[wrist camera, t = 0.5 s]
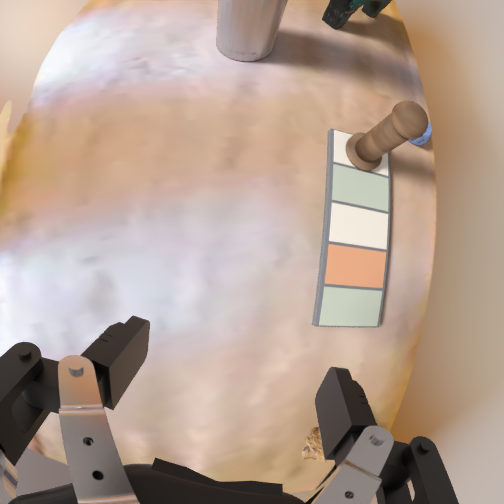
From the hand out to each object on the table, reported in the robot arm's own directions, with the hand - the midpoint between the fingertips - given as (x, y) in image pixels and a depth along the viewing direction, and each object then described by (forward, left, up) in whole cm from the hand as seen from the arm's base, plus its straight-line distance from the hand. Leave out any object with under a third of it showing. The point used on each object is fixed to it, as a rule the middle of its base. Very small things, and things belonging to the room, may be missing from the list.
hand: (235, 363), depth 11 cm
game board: (-11, +17, -23) cm, 30 cm away
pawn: (-21, +17, -21) cm, 35 cm away
